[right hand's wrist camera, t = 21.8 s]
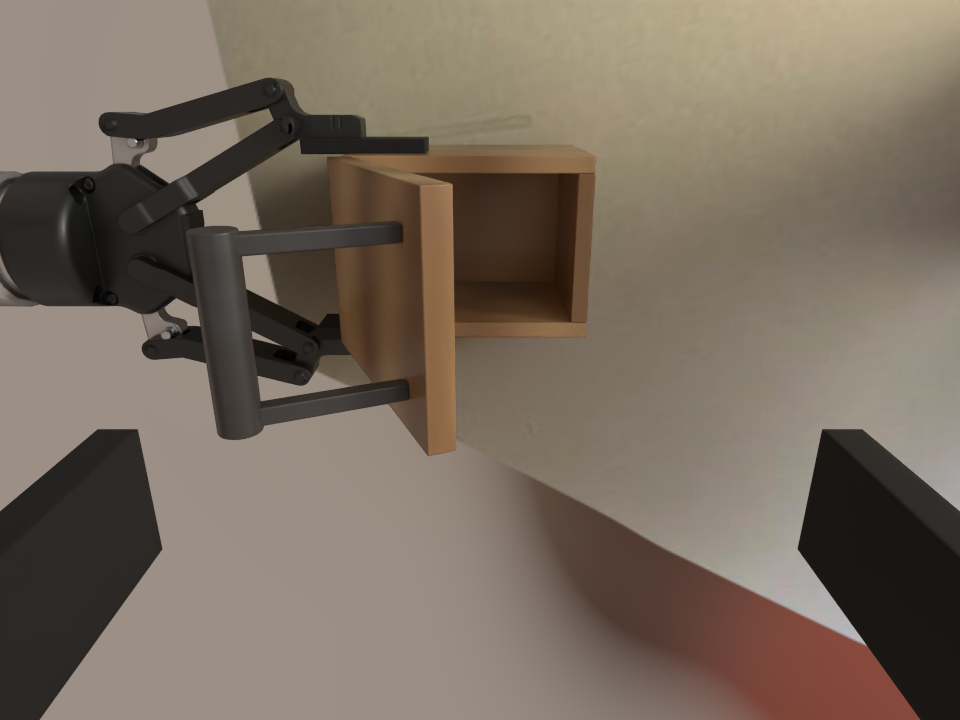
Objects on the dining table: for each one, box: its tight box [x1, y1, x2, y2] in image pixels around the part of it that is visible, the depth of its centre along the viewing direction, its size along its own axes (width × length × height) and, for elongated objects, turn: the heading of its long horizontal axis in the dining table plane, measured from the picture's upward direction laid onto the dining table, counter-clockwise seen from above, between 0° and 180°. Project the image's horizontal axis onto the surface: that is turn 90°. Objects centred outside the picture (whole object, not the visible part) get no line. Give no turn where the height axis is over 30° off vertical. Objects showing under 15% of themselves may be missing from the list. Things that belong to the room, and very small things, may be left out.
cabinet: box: [341, 145, 596, 337], centre depth 40 cm, size 13×10×10 cm
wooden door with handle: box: [186, 156, 456, 456], centre depth 27 cm, size 14×10×8 cm
